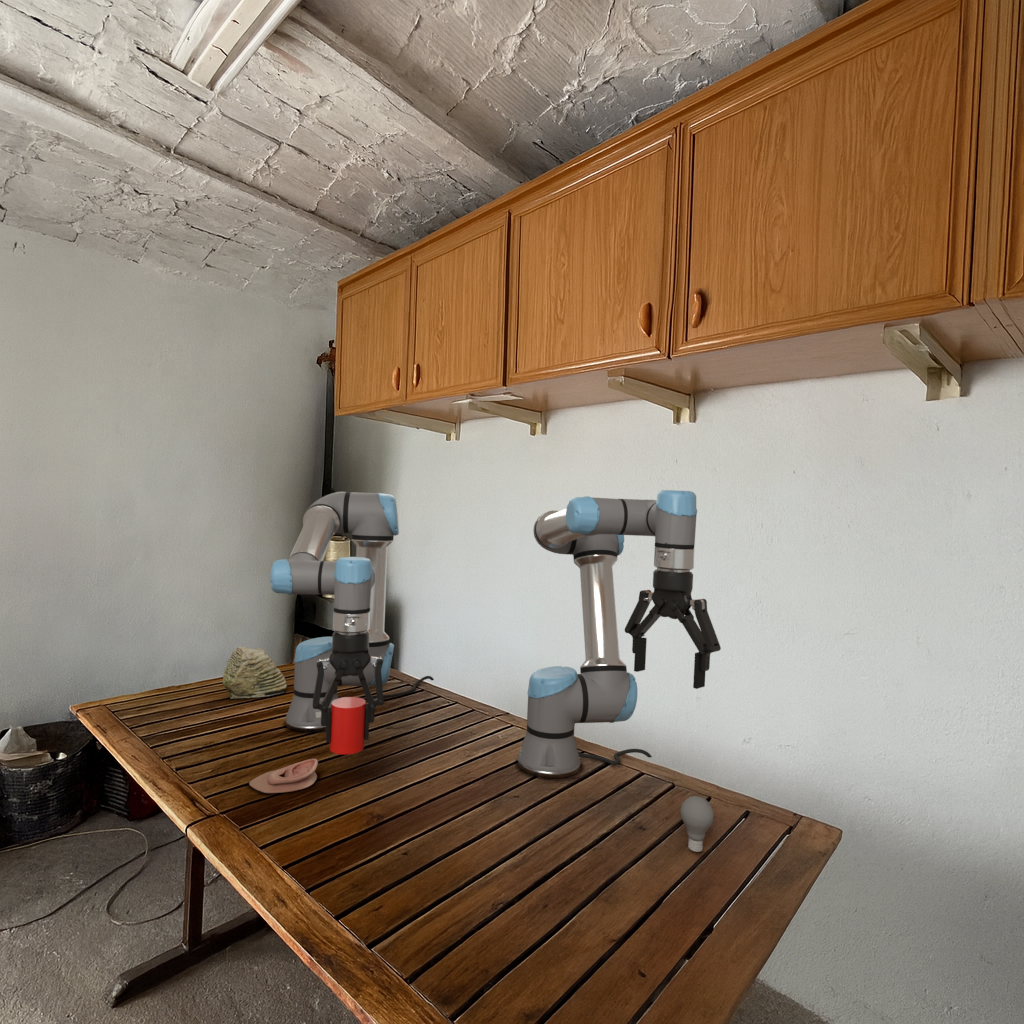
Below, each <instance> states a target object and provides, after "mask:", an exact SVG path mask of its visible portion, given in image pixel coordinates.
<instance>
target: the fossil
mask: <svg viewBox="0 0 1024 1024" xmlns="http://www.w3.org/2000/svg"><path fill="white" fill-rule="evenodd" d="M222 676H223V677H222V685H223V687H224V688H225V690H226V691H228V693H229V698H230V699H250V698H264V697H271V696H275V695H281V694H284V693H285V691H286V689H287V687H288V686H287V680H286V678H285V676H284V674H283V673H282V672H281V669H279V668H278V667H277V665H276V663H275V662H274V660H273V659H272V658H271V657H270V656H269V655H268V654H267V653H266V652H265V650H264V649H263V648H260V647H258V648H251V647H247V646H246V647H245V646H238V647H237V648H236V649H235V650H233V651H232V653H231V656H230V657H229V659H228V660H227V663H226V666H225V668H224V671H223V675H222Z"/></svg>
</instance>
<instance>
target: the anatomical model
mask: <svg viewBox="0 0 1024 1024" xmlns="http://www.w3.org/2000/svg"><path fill="white" fill-rule="evenodd" d="M318 764H319V761H318V759H317V758H309V759H305V760H302V761H299V762H296V763H293V764H290V765H289V764H288V765H287V766H284V767H281V768H279V769H274V770H271V771H268V772H265V773H263V774H260V775H258V776H256V777H254V778H252V779H251V780H250V781H249V783H248V784H249V785H248V786H250V787H251V788H253V789H254V790H256V791H258V792H261V793H264V794H279V793H289V792H295V791H298V790H303V789H306V788H309V787H311V786H312V785H313V784H315V782H316V781H317V778H318V775H317V773H316V770H317V768H318Z"/></svg>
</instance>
